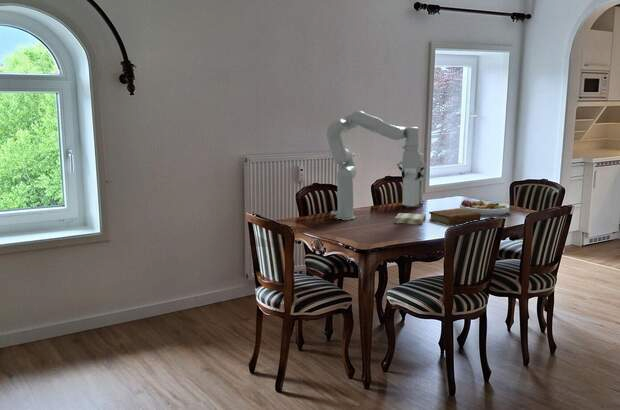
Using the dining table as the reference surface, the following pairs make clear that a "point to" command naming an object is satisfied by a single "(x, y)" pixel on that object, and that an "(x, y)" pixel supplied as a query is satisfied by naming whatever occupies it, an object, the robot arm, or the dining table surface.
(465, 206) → the bowl
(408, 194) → the milk carton
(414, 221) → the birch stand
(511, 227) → the dining table surface
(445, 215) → the diary
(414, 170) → the display case
